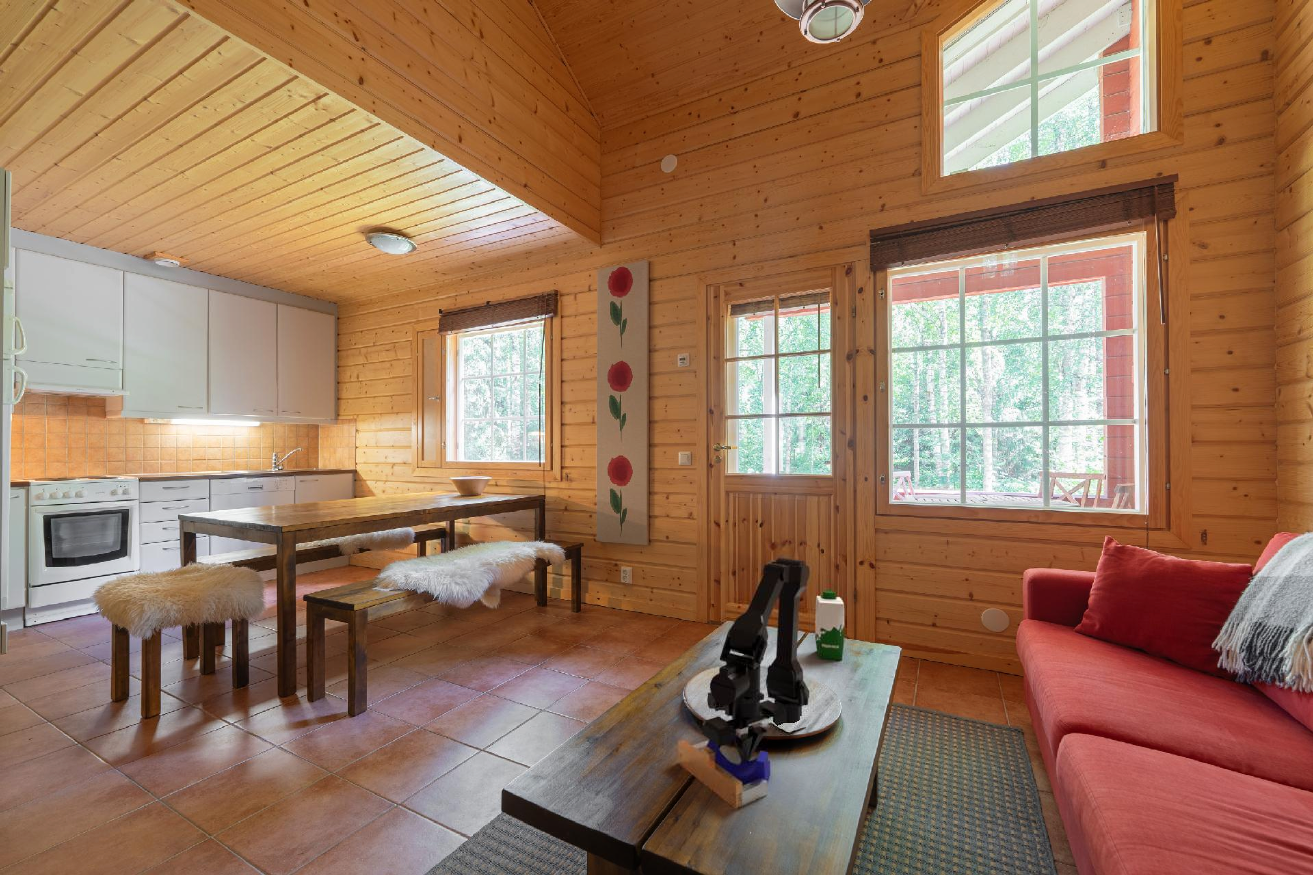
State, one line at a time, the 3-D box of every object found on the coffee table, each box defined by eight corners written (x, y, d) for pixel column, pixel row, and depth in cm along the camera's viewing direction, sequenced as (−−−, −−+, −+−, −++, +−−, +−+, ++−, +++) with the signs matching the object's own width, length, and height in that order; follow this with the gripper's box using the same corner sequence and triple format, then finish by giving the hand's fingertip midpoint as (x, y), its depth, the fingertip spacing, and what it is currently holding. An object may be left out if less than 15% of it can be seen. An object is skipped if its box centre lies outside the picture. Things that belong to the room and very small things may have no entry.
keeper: (707, 751, 124) (707, 722, 124) (767, 794, 109) (767, 760, 109) (677, 762, 119) (678, 731, 119) (735, 808, 104) (736, 773, 104)
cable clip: (770, 774, 114) (769, 747, 114) (765, 790, 110) (764, 762, 110) (713, 759, 119) (712, 733, 118) (706, 774, 115) (705, 747, 114)
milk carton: (841, 651, 187) (842, 590, 187) (845, 662, 178) (846, 597, 178) (813, 649, 188) (814, 588, 188) (816, 659, 179) (817, 595, 179)
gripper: (751, 665, 130) (750, 733, 130) (686, 682, 119) (685, 757, 119) (788, 682, 121) (787, 756, 120) (721, 703, 110) (719, 784, 110)
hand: (744, 762), depth 118 cm, fingers closed
